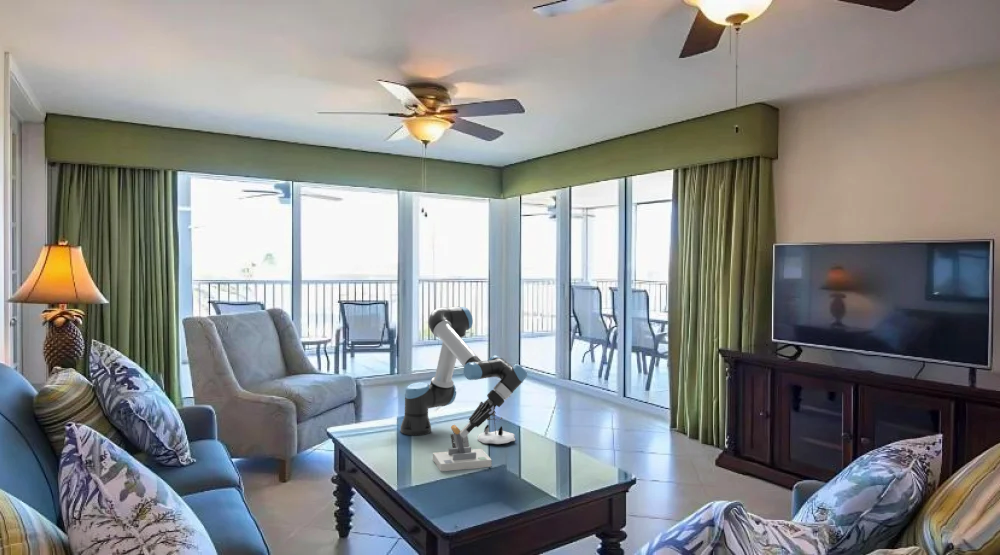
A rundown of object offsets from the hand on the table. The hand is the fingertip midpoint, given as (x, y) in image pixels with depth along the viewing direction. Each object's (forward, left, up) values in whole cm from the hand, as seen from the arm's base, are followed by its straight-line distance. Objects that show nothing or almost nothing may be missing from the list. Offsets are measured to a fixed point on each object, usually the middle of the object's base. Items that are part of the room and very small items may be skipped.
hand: (461, 436), depth 248 cm
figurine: (-26, +26, -12) cm, 39 cm away
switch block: (0, +1, -12) cm, 12 cm away
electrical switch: (-18, +5, -12) cm, 22 cm away
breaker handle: (0, +1, -7) cm, 7 cm away
